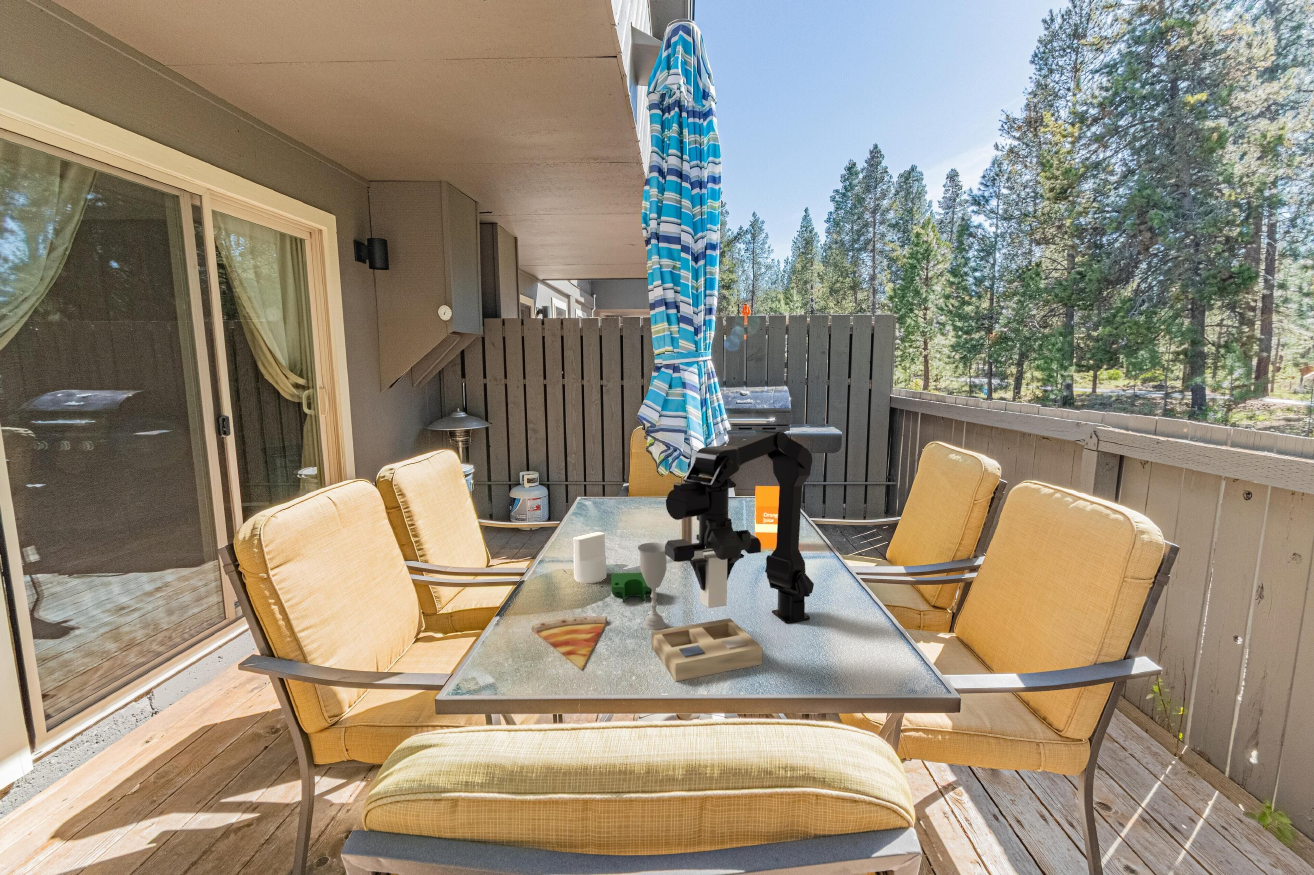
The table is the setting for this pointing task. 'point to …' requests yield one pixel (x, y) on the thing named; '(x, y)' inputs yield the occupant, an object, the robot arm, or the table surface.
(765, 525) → the orange juice
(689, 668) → the socket board
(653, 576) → the chalice
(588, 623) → the pizza slice
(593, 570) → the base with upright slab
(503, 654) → the table surface
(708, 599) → the plug
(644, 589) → the clamp
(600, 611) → the table surface
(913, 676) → the table surface
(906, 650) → the table surface
